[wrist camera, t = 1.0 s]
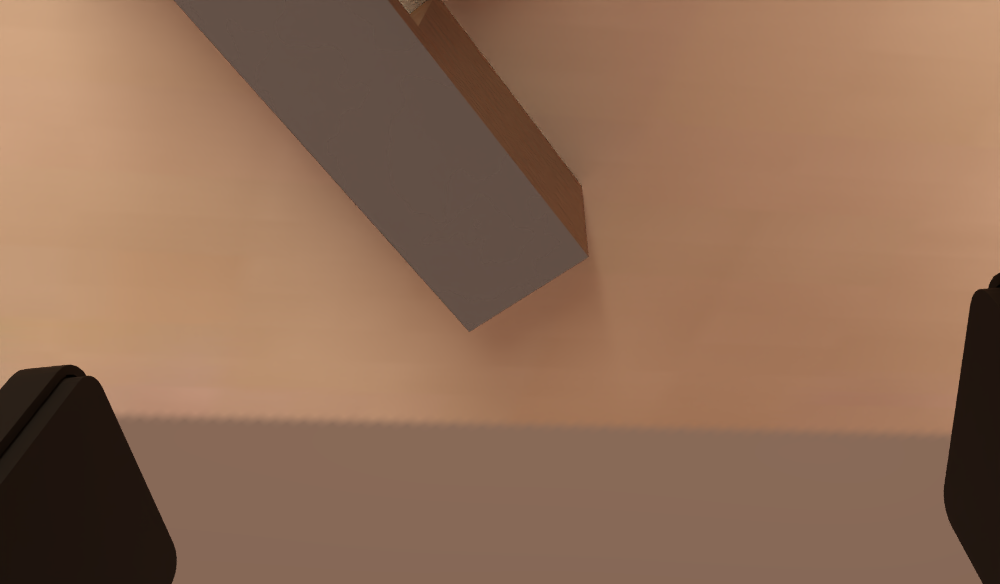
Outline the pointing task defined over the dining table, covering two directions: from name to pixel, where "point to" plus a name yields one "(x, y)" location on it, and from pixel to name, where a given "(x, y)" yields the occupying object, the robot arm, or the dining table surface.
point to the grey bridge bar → (413, 139)
